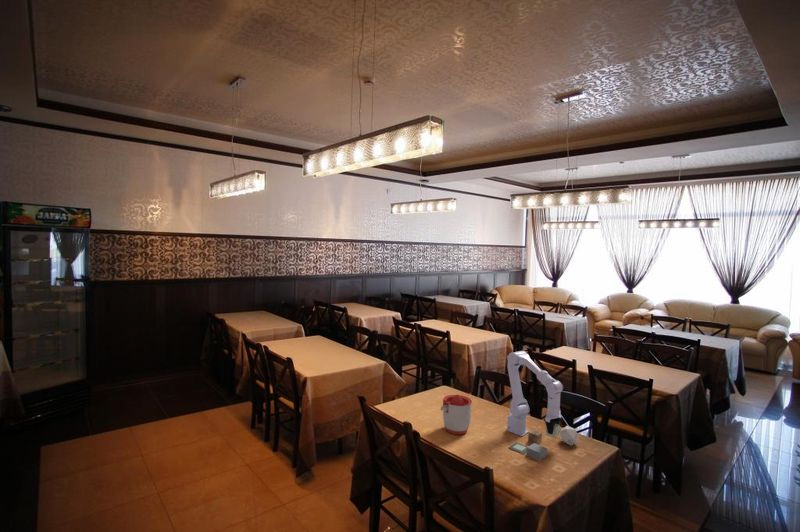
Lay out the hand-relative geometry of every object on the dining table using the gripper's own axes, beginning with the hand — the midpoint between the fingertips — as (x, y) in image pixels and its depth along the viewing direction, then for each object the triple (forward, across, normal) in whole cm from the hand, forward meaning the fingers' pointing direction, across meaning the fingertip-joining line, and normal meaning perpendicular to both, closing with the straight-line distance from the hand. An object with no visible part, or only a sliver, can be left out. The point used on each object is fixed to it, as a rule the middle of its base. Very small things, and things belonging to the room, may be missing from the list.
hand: (552, 431), depth 198 cm
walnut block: (+8, 0, +9) cm, 12 cm away
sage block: (+2, 0, 0) cm, 2 cm away
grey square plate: (+8, -13, +11) cm, 19 cm away
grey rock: (+9, +12, -4) cm, 15 cm away
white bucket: (+9, -21, +45) cm, 50 cm away
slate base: (+9, -13, +2) cm, 16 cm away
